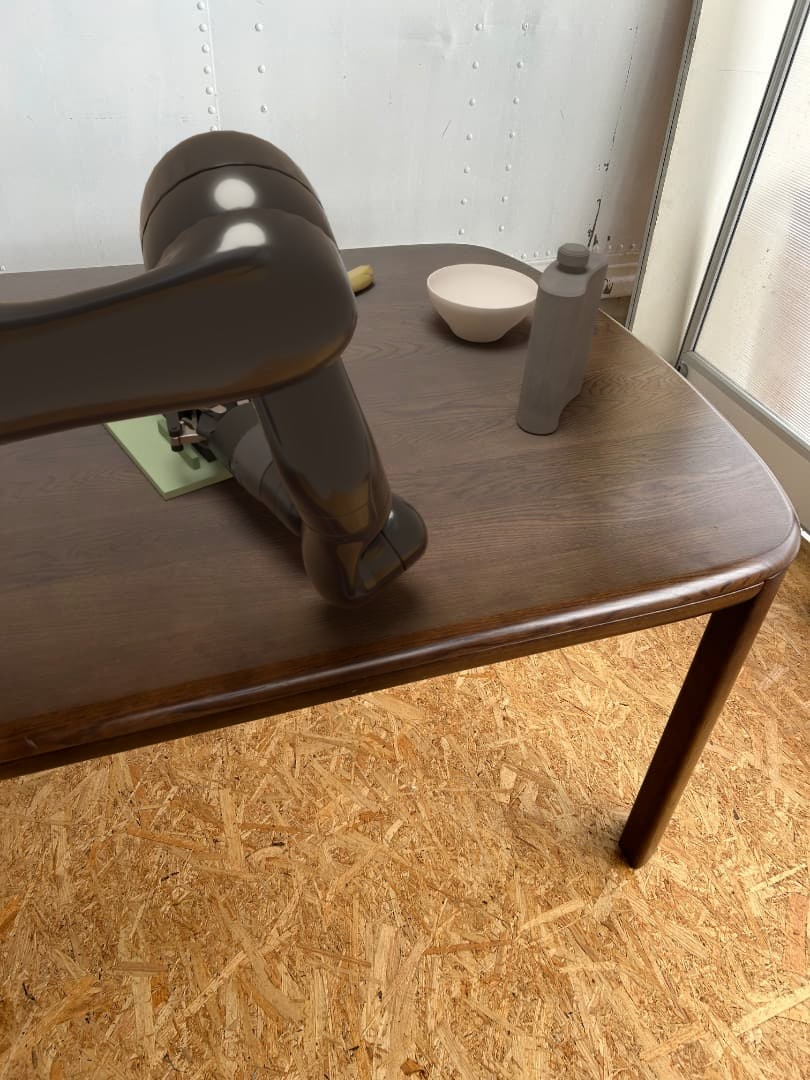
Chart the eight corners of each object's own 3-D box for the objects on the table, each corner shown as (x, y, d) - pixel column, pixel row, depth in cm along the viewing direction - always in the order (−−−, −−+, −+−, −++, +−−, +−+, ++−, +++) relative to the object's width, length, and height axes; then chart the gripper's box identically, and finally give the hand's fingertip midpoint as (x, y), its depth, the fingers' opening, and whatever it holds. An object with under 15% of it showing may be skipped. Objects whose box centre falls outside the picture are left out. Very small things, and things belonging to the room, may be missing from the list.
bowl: (474, 367, 107) (480, 318, 102) (401, 323, 116) (403, 277, 111) (554, 338, 115) (563, 292, 110) (480, 300, 124) (485, 256, 120)
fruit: (385, 295, 124) (386, 275, 121) (293, 306, 118) (292, 285, 116) (368, 278, 129) (369, 258, 126) (279, 288, 123) (278, 268, 121)
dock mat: (165, 500, 81) (150, 416, 74) (94, 414, 93) (76, 335, 86) (299, 453, 89) (296, 374, 82) (218, 379, 100) (209, 305, 94)
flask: (543, 375, 106) (570, 224, 93) (584, 386, 104) (618, 233, 91) (504, 426, 95) (530, 263, 82) (550, 439, 94) (583, 275, 81)
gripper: (330, 402, 77) (246, 334, 87) (195, 445, 70) (121, 366, 80) (331, 465, 81) (251, 394, 92) (205, 512, 74) (133, 430, 85)
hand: (191, 382), depth 86 cm, fingers closed on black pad, 4 cm apart
